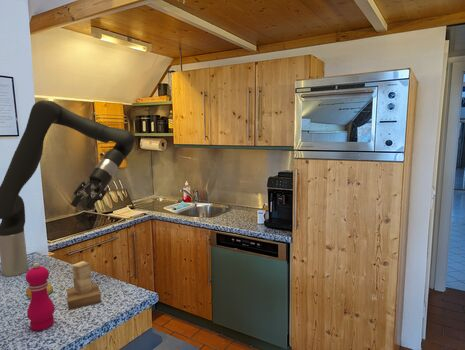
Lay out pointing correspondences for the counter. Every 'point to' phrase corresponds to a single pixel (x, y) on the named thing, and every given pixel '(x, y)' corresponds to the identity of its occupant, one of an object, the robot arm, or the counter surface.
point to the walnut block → (83, 297)
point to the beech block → (82, 277)
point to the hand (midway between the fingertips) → (80, 207)
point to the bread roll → (49, 290)
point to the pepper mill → (39, 298)
